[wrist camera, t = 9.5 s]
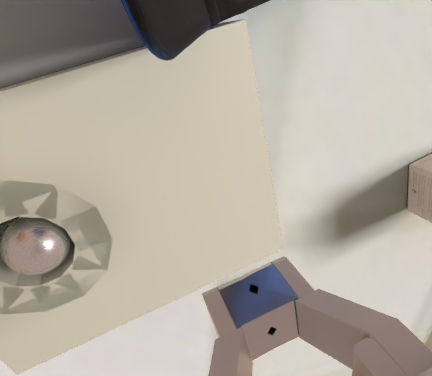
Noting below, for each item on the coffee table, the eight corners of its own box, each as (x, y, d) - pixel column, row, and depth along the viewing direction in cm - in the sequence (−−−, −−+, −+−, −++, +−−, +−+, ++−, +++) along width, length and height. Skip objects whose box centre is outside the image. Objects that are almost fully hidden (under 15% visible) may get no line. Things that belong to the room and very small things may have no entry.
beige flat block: (-169, 138, 14) (-217, 155, 12) (227, 21, 18) (245, 19, 15) (24, 342, 22) (17, 374, 20) (268, 231, 26) (284, 249, 23)
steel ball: (-19, 226, 17) (-11, 252, 14) (44, 194, 19) (60, 213, 16) (16, 269, 19) (28, 299, 16) (71, 237, 20) (89, 260, 18)
